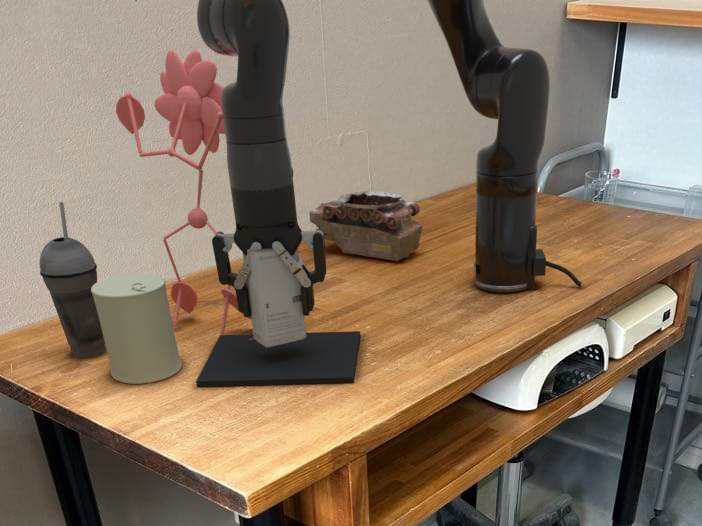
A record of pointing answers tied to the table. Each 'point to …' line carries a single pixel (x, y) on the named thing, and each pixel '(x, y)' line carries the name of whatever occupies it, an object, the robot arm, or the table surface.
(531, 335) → the table surface
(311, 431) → the table surface
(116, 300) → the can
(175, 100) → the figurine
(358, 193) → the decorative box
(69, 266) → the beverage cup
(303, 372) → the mat
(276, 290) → the cosmetic box
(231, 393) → the table surface
